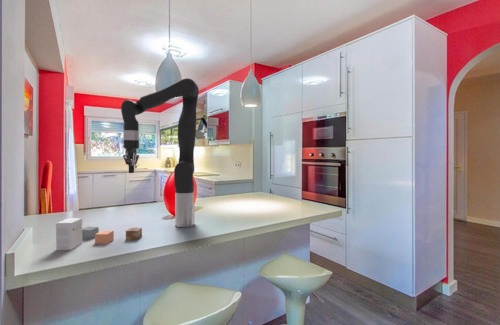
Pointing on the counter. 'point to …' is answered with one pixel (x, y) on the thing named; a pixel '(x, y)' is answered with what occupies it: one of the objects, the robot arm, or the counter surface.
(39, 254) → the counter surface
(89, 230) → the grey block
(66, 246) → the small box
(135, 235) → the walnut block
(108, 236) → the terracotta block
